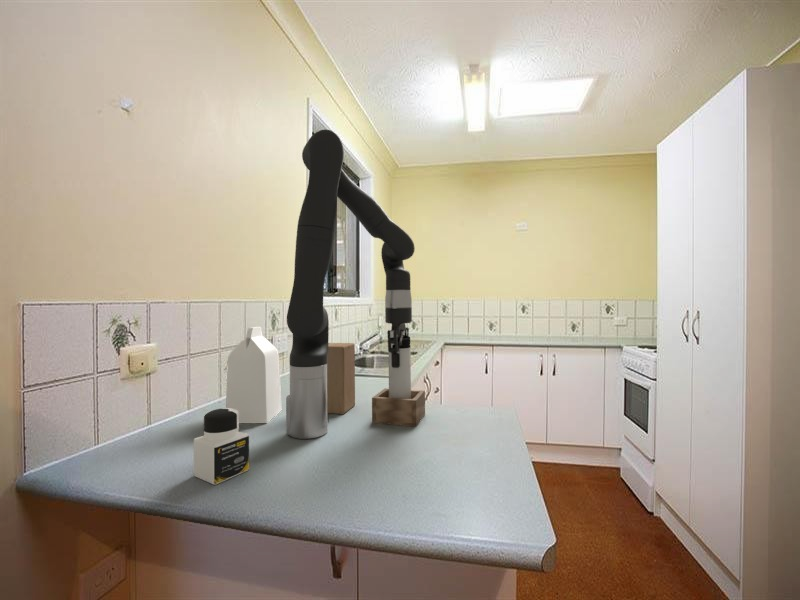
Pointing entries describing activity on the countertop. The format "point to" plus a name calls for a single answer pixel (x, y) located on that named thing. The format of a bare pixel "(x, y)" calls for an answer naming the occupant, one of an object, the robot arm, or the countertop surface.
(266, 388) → the milk
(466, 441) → the countertop surface
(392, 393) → the travel mug
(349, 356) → the wooden block
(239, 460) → the medicine bottle
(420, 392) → the open wooden box
